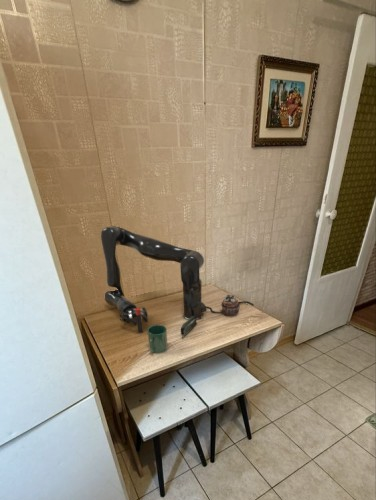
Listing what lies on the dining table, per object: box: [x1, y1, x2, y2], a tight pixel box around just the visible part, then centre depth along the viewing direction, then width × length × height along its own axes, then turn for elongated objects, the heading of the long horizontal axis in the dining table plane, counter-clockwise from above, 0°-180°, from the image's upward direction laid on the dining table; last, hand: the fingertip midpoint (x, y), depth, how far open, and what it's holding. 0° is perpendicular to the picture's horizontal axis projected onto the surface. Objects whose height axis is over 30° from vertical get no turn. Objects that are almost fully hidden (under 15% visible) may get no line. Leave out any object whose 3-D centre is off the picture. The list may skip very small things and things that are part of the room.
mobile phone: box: [180, 316, 197, 339], centre depth 134 cm, size 5×3×15 cm
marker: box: [135, 307, 144, 334], centre depth 131 cm, size 2×2×12 cm
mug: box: [147, 324, 169, 354], centre depth 120 cm, size 11×8×10 cm
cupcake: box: [220, 294, 241, 318], centre depth 146 cm, size 10×10×10 cm
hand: (141, 321), depth 129 cm, fingers open, 4 cm apart
